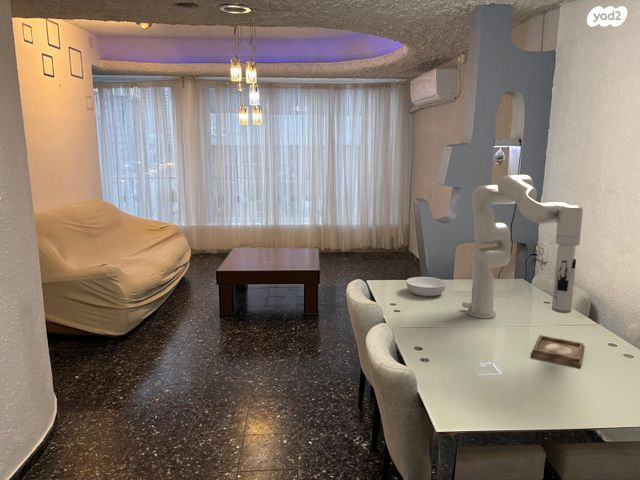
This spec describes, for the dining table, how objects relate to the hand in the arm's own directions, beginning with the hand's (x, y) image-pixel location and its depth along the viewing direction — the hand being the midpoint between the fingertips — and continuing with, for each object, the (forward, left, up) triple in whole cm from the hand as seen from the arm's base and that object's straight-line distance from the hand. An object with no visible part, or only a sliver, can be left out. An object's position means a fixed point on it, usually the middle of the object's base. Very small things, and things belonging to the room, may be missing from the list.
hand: (563, 287), depth 167 cm
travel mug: (0, 0, -9) cm, 9 cm away
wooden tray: (0, 0, -25) cm, 25 cm away
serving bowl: (-68, +44, -26) cm, 85 cm away
